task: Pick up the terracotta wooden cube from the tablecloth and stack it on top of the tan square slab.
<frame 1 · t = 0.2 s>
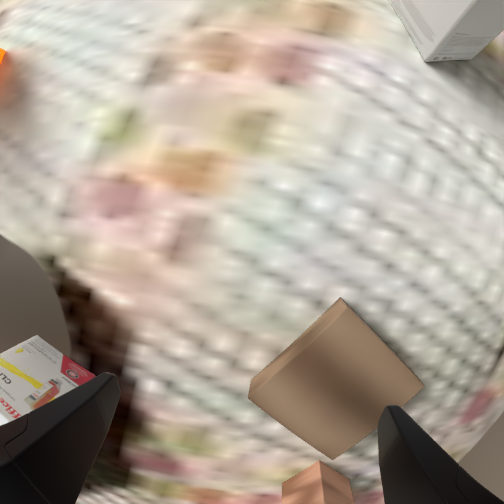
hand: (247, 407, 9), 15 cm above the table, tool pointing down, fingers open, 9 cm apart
terracotta cube: (316, 481, 26), on the table
skincare box: (427, 27, 21), on the table
tan square slab: (335, 378, 24), on the table
ink box: (63, 370, 27), on the table
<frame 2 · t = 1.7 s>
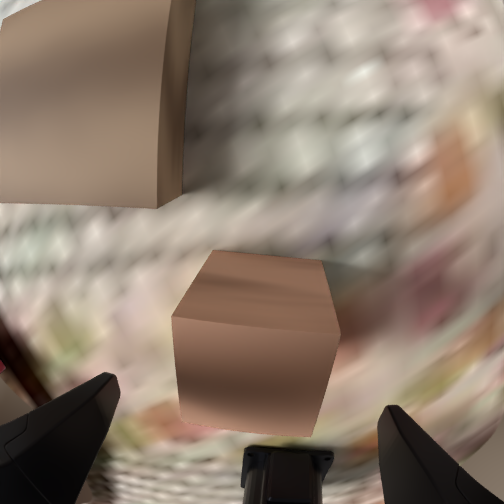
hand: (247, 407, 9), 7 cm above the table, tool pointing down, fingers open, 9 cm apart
terracotta cube: (262, 302, 15), on the table
tan square slab: (92, 93, 13), on the table
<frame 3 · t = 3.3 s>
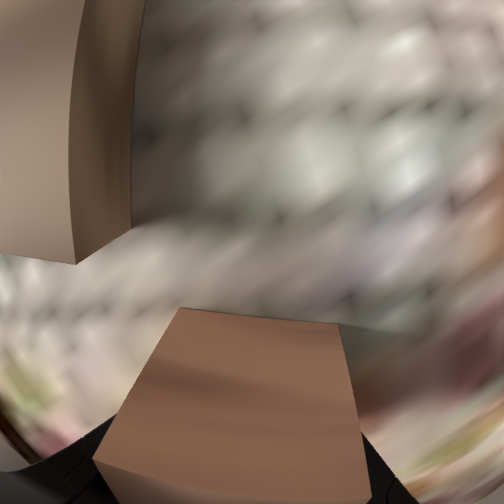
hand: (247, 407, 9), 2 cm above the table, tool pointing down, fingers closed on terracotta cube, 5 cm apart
terracotta cube: (252, 376, 11), on the table, touching gripper
tan square slab: (21, 88, 8), on the table
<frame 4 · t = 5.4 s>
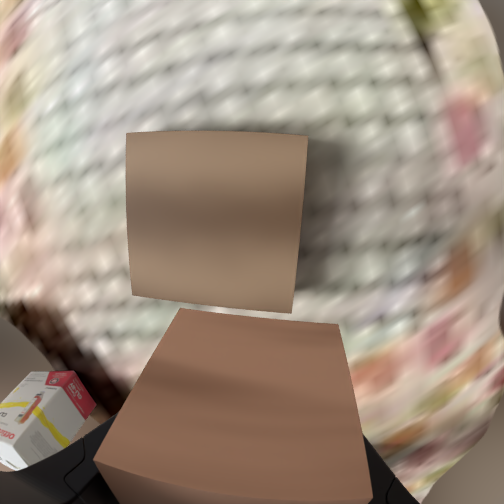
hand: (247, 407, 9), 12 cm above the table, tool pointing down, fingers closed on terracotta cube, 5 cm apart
terracotta cube: (253, 377, 11), point 11 cm above the table, touching gripper
tan square slab: (219, 212, 20), on the table
ink box: (62, 386, 28), on the table
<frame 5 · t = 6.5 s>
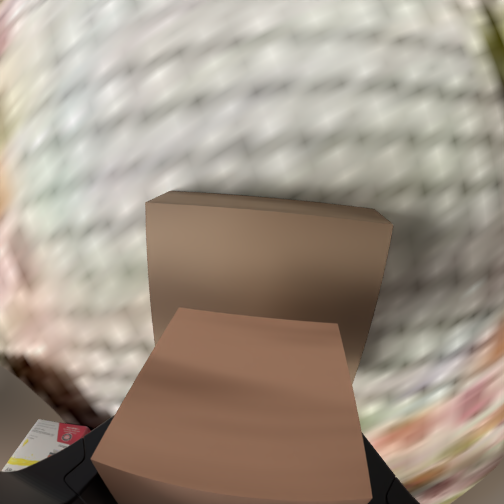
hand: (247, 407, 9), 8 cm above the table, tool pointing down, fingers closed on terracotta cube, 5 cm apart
terracotta cube: (252, 376, 10), point 6 cm above the table, touching gripper
tan square slab: (263, 293, 17), on the table
ink box: (74, 435, 25), on the table
when the fingers open (6 cm above the table, at t = 7.6 s): terracotta cube drops 1 cm, resting on tan square slab.
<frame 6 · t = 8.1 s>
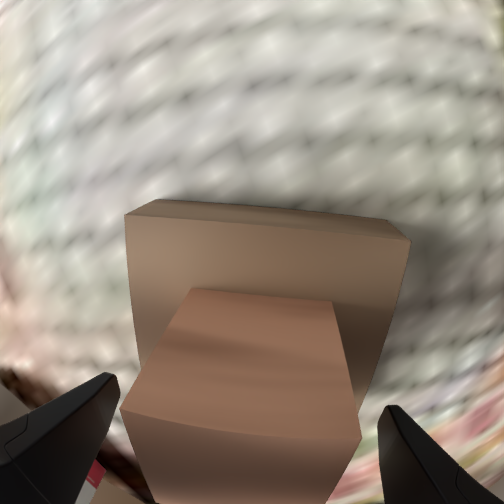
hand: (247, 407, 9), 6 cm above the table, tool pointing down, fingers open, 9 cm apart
terracotta cube: (256, 351, 12), point 3 cm above the table, touching tan square slab
tan square slab: (261, 313, 15), on the table
ink box: (66, 448, 23), on the table
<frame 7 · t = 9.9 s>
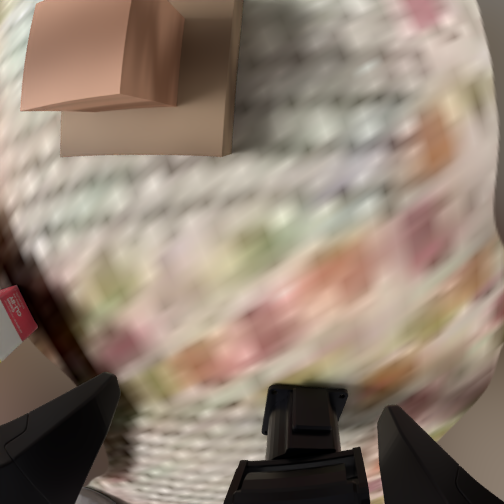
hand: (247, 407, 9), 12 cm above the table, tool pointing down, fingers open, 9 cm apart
terracotta cube: (136, 64, 14), point 3 cm above the table, touching tan square slab
tan square slab: (156, 73, 16), on the table
ink box: (8, 309, 25), on the table
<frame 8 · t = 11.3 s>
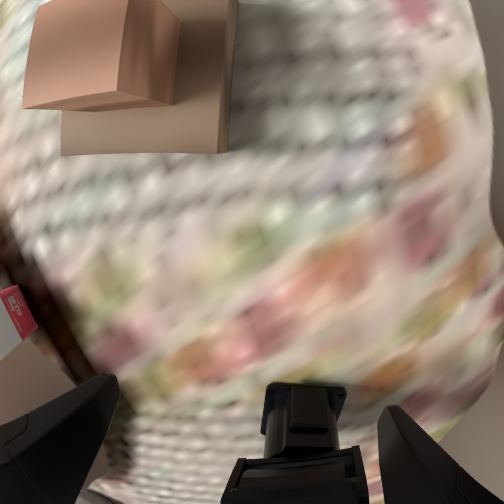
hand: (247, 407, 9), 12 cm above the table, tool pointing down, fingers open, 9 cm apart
terracotta cube: (134, 65, 14), point 3 cm above the table, touching tan square slab
tan square slab: (154, 75, 17), on the table
ink box: (9, 309, 25), on the table
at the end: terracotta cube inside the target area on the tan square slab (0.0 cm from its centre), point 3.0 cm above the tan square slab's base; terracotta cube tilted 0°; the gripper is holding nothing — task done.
